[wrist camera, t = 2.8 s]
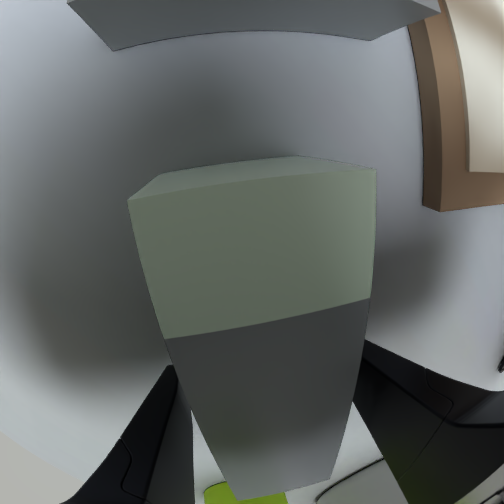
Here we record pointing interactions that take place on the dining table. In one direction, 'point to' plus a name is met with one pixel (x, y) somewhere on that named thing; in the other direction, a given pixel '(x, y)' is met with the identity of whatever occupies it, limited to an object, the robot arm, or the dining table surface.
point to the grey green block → (263, 306)
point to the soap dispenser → (223, 500)
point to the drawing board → (462, 103)
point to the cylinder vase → (366, 488)
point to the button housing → (245, 17)
